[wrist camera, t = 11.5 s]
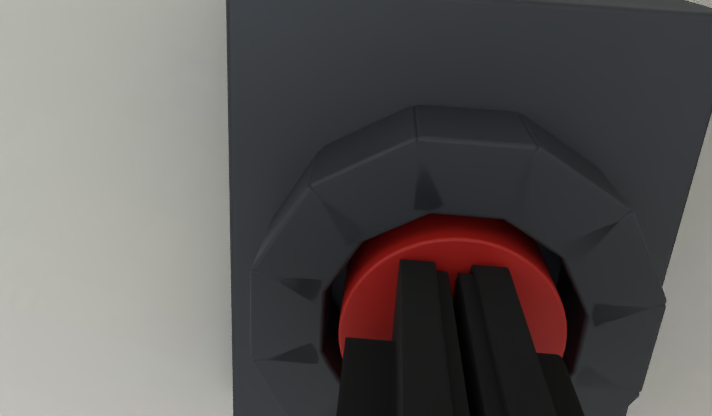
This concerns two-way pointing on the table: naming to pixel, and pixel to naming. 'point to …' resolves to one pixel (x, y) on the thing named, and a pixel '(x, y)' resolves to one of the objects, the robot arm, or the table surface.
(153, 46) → the table surface
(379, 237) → the button
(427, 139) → the dark grey button housing
